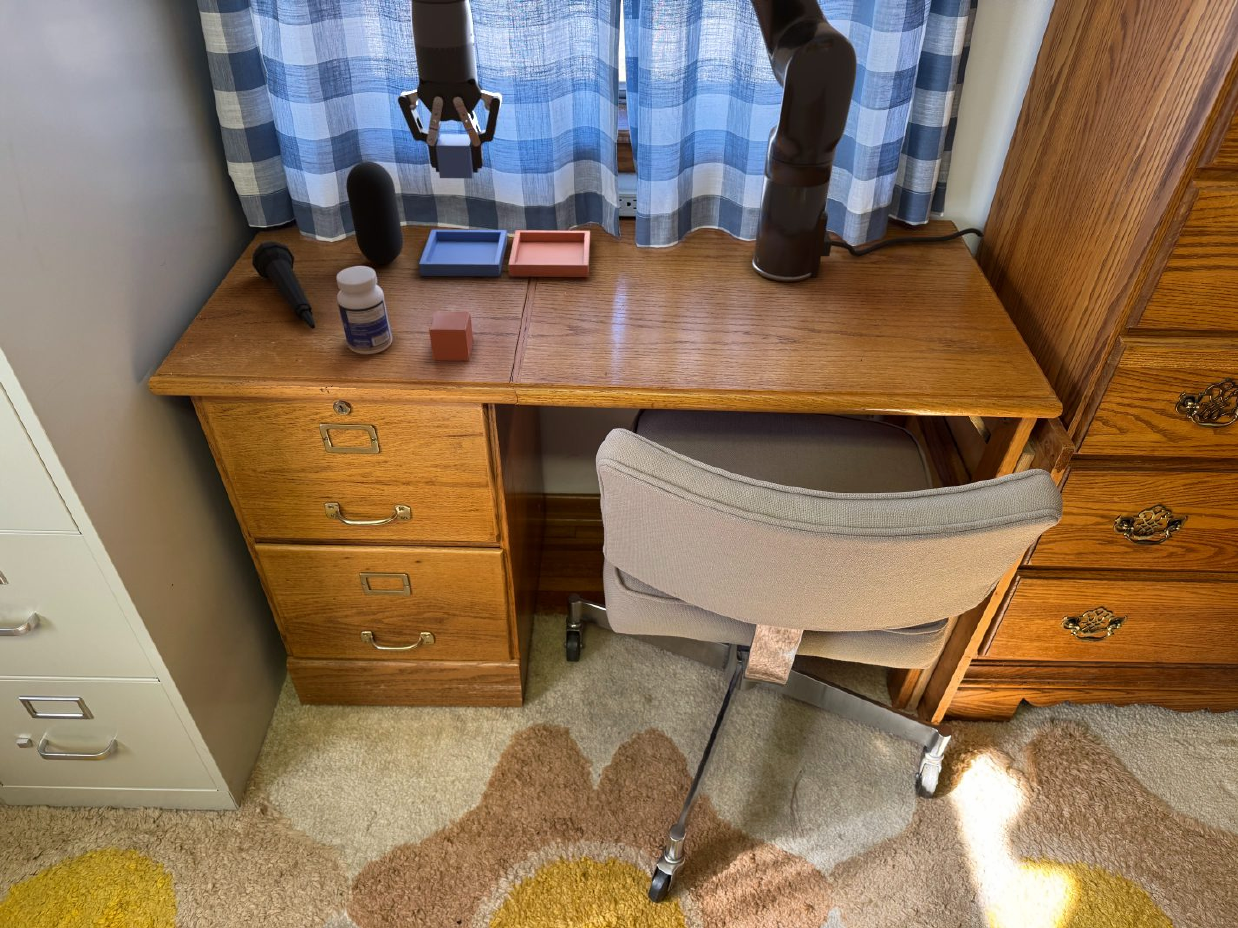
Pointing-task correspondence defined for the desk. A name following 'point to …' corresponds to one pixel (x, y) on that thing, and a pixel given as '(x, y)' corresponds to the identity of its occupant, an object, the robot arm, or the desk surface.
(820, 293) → the desk surface
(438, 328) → the terracotta cube
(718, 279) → the desk surface
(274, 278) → the microphone
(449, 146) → the blue cube
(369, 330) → the pill bottle
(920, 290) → the desk surface
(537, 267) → the terracotta tray
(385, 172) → the decorative object
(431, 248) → the blue tray
